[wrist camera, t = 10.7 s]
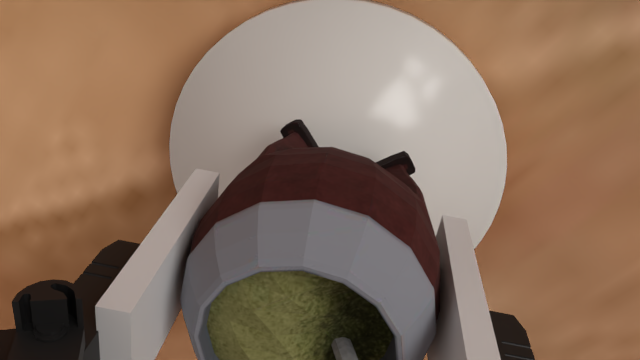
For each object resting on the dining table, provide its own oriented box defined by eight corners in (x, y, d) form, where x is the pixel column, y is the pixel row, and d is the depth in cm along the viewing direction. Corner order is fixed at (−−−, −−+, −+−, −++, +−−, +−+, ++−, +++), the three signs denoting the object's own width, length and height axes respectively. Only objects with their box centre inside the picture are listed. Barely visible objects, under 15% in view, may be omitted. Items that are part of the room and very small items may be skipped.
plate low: (187, -36, 19) (172, -31, 18) (547, 28, 19) (559, 37, 17) (178, 256, 25) (166, 275, 24) (450, 308, 25) (454, 331, 24)
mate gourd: (204, 153, 20) (-199, 661, 6) (399, 52, 17) (399, 558, 4) (306, 300, 22) (167, 886, 9) (490, 232, 20) (679, 913, 6)
